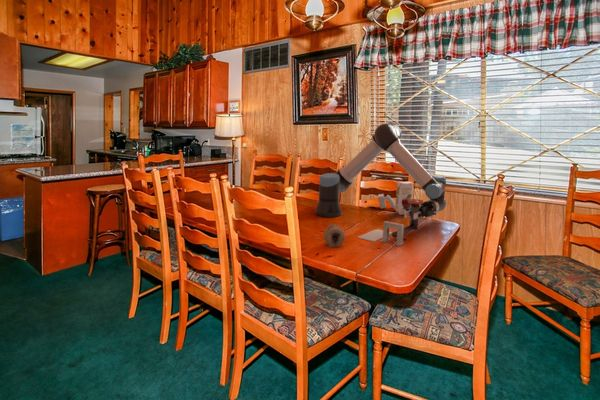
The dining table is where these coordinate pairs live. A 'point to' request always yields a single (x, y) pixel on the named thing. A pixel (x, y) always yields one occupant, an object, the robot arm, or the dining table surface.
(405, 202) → the juice carton
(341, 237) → the grey round lumpy ball
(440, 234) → the dining table surface
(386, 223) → the grey u-shaped bracket
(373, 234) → the pad
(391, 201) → the wall hook
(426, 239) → the dining table surface
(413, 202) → the hook
